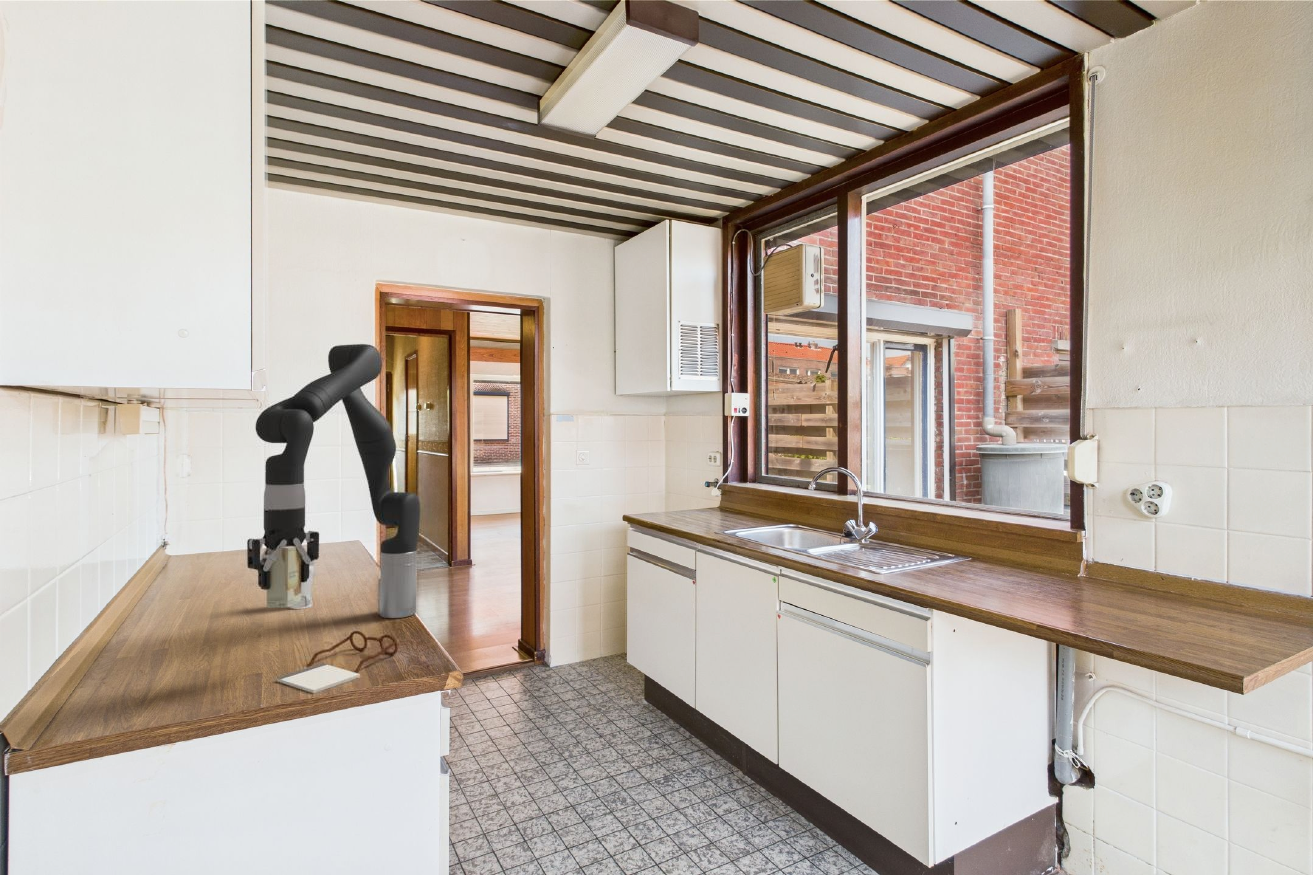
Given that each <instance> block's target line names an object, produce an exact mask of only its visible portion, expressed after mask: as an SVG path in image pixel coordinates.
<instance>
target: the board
mask: <svg viewBox="0 0 1313 875" xmlns="http://www.w3.org/2000/svg"><path fill="white" fill-rule="evenodd" d="M354 672H355V671H350V670H347V669H343V668H340V667H336V666H334V665H330V664H327V663H325V662H322V663H320V664H316V665H312V666H310V667H307V668H303V669H300V670H296V671H294V672H290V673H287V674H284V675H281V676H279V677H278V676H277V677H276V682H277V683H281V684H285V685H288V686H290V687H292V688H295V689H299V690H301V691H302V690H303V691H305V692H308V693H312V694H316V693H319V692H321V691H324V690H327V689H331V688H333V687H336V686H339V685H342V684H344V683H347V682H348V683H349V682H350V681H353V680H356V679H359V678H361V674H360V673H359V672H358V673H354Z"/></svg>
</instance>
